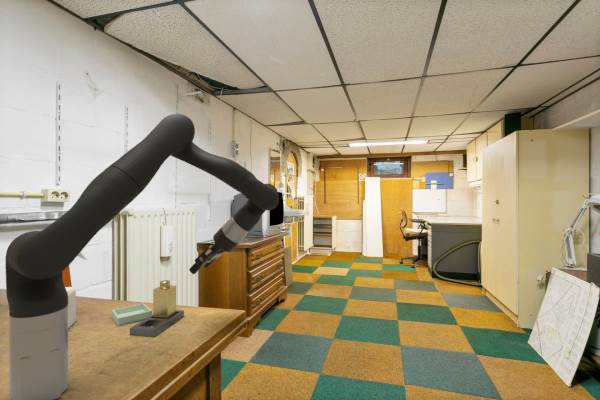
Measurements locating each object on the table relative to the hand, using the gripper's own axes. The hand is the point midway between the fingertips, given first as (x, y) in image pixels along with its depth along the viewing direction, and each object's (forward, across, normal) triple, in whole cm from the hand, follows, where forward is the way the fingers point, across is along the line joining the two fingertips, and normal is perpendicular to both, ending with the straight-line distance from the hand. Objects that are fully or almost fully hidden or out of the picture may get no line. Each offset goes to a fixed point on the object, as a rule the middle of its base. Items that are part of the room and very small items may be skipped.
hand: (198, 268), depth 99 cm
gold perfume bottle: (+21, 0, +4) cm, 21 cm away
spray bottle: (+45, +2, -20) cm, 50 cm away
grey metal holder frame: (+21, +4, +4) cm, 21 cm away
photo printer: (+41, +10, -16) cm, 45 cm away
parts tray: (+30, -1, -5) cm, 30 cm away
